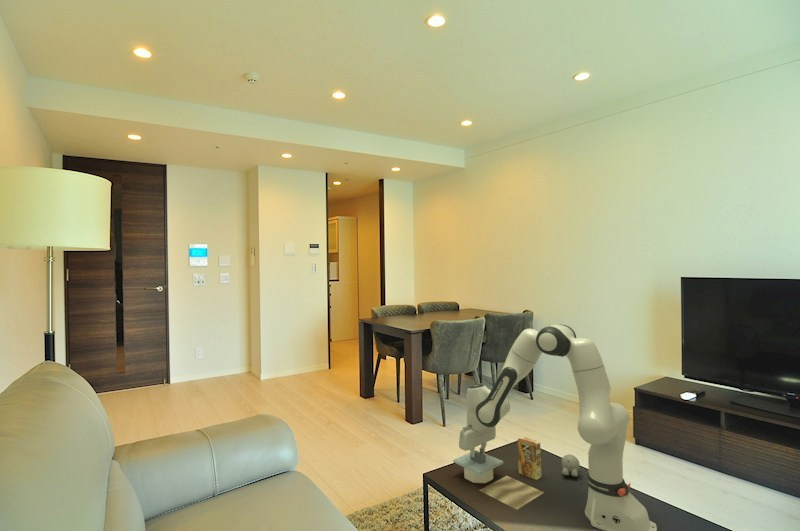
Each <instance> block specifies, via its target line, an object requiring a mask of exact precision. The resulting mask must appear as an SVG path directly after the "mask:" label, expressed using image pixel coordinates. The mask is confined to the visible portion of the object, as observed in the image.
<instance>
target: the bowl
mask: <svg viewBox="0 0 800 531" xmlns="http://www.w3.org/2000/svg"><path fill="white" fill-rule="evenodd" d="M463 474H464V475H463V476H464V479H466V480H467V481H469V482H472V483H475V484H486V483H489V482H490V481H493V480H494V468H493V469H491V470H489V471H487V472H485V473H483V474H481V475H479V474H477V473H475V472H473V471H471V470H469V469H466V468H464V467H463Z"/></svg>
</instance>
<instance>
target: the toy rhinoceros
mask: <svg viewBox="0 0 800 531" xmlns="http://www.w3.org/2000/svg"><path fill="white" fill-rule="evenodd" d="M580 466H581V465H580V461H579V458H578V457H576V456H575V455H573V454H569V453H568V454H566V455H564V456H562V458H561V467H562V471H561V474H562V475H564V476H571V477H575V478H576V477H577V478H578V477H579V473H578V471H579V469H580Z"/></svg>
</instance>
